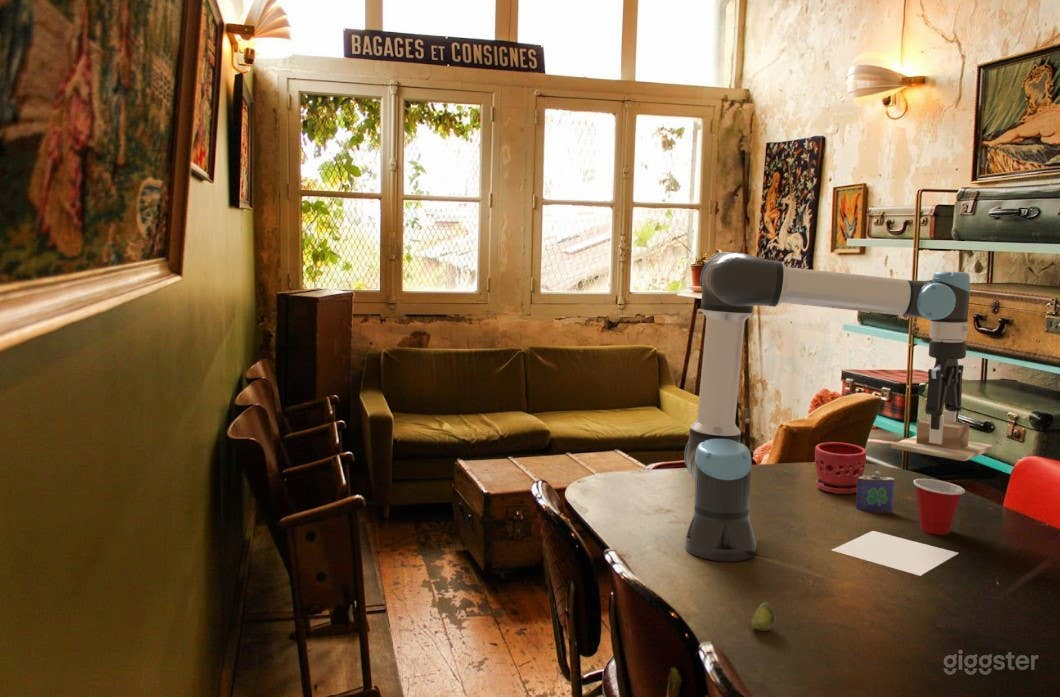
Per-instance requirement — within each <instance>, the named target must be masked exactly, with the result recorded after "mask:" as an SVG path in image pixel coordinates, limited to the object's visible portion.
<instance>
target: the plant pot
mask: <svg viewBox="0 0 1060 697" xmlns="http://www.w3.org/2000/svg"><path fill="white" fill-rule="evenodd" d="M836 452H837V453H836ZM866 460H867V451H866V449H865V447H862V446H859V445H857V444H851V443H846V442H838V441H837V442H836V441H834V442H833V441H832V442H831V441H830V442H822V443H818V444H817V445H816V446H815V448H814V466H815V470H816V474H817V476H818V478H817V479H816V481H815V482H816V485H817V487H818V488H819V489H821V490H823V491H825V492H829V493H832V494H839V495H849V494H855V493H857V478H858V477H862V476H864V472H865V469H866V463H867V461H866Z"/></svg>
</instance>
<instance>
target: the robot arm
mask: <svg viewBox="0 0 1060 697" xmlns="http://www.w3.org/2000/svg"><path fill="white" fill-rule="evenodd" d="M699 282H700V287H701V298H700V300H701V302H700V311H701V313H703V314H704V316H705V318H706V320H705V321H706V322H705V332H704V343H703V353H702V364H701V374H700V375H701V376H700V384H699V399H698V409H697V418H696V420H695V421H694V422H693V423H691V424H690V425H689V432H688V433H689V435H688V440H687V443H686V446H685V448H684V452H683V453H684V455H683V456H684V458H683V459H684V464H685V466H686V468H687V471H688V472H689V474H690V475H691V477H692V479H693V481H694V510H693V511H694V513H693V516H692V519H691V522H690V524H689V527H688V529H687V532H686V535H685V546H684V548H685V549H686V551H687V552H689V553H690V554H691V555H693V556H695V557H698V558H702V559H705V560H710V561H716V562H731V563H732V562H740V561H741V562H742V561H746V560H749V559H751V558H754V557H755V556H756V554H757V552H756V551H757V540H756V538H755V534H754V530H753V527H752V524H751V520H750V498H751V496H750V495H751V494H750V493H751V471H752V470H751V469H752V463H753V462H752V456H751V450H750V449H749V448H748V446H746V445H745V444H743V442H742V443H741V432H742V431H741V429H740V428H739V427H738V426H737V424H736V416H737V414H736V413H737V407H738V395H739V384H740V377H741V376H740V373H741V364H742V363H741V362H742V352H743V342H744V334H745V324H746V323H745V322H746V320H747V319H748V318H750V317H751V316H752V315H753V312H754V306H756V307H758V306H760V307H761V306H764V307H772V308H773V307H774V308H777V307H778V306H780V305H781V304H789V305H790V304H791V305H801V306H812V307H819V308H827V309H829V308H830V309H838V310H846V311H847V310H849V311H857V312H864V313H865V312H867V313H875V314H886V315H896V316H903V317H911V318H912V317H913V318H921V319H926V320H930V322H929V335H928V336H929V338H930V339H931V340H930V341H929V343H928V357H929V358H934V359H935V361H934V362H935V363H934V367H933V368H929V369H927V370H928V371H927V375H928V382H927V393H926V394H927V395H926V406H925V414H927V415H929V416H930V417H929V418H930V431H929V443H935V444H942V443H943V427H944V421H950V422H957V412H961V411H962V396H963V394H962V393H963V390H962V389H963V373H964V364H959V360H962V359H963V360H964V359H965V358H966V357H967V343H966V339H967V338H968V337H967V336H968V335H967V334H968V332H969V331H970V327H969V326H968V322H969V308H970V306H969V305H970V296H971V276H970V275H969V273H967V272H965V271H935V272H934V273H933V275H932V278H931V280H930V279H928V280H909V279H902V278H901V279H900V278H894V277H892V278H891V277H882V276H873V275H864V274H854V273H853V274H852V273H845V272H835V271H827V270H825V271H824V270H818V269H807V268H797V267H790V266H786V264H785V263H784V262H783V261H778V260H772V259H766V258H761V257H757V256H755V255H750V254H746V253H745V252H744V253H743V252H732V251H729V252H727V251H726V252H721V253H718V254H716V255H714V256H713V257H712V256H711V258H710V259H709V260H708V261H706V263H705V265H704V266H703V268H702V270H701V273H700V276H699Z"/></svg>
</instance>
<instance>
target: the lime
mask: <svg viewBox="0 0 1060 697" xmlns="http://www.w3.org/2000/svg"><path fill="white" fill-rule="evenodd" d="M776 622H777V612H776V609H775V608H774V606H773V605H772V604H771V603H769V602H768V601H764V602H762V603H761V604H760V605H759V606H758V607H757V609H756V610H755V612H754V613H753V615H752V616H751V619H750V624H749V626H750V627H751V629H754V630H756V631H759V632H767V631H769V630H771V629H772V628H773V627H774V626H775V624H776Z"/></svg>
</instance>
